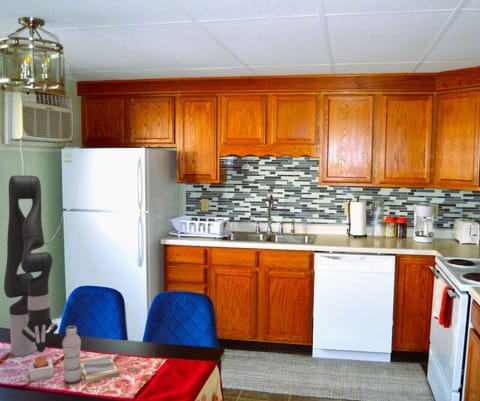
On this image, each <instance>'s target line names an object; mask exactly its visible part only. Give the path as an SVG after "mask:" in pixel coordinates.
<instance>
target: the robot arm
mask: <svg viewBox="0 0 480 401" xmlns="http://www.w3.org/2000/svg"><path fill="white" fill-rule="evenodd" d="M8 181H9V182H8V222H7V223H8V225H7V240H6V243H7V244H6V245H7V246H6V248H7V249H6V250H7V251H6V256H7V257H6V264H5V265H6V266H5V274H4V282H3V288H4V289H3V290H4V295H5V296H6V297H7V298H9V299H13V298H19V297H21V298H20V299H19V300H17V301H15V302H14V303H13V304H11V305H10V306H9V330H10V350H11V351H10V352H11V353H10V354H11V355H12V356H15V357H23V356H27V355H31V354H33V353H34V352H35V351H37V352H39V353H44V351H45V350H46V341H48V340H50V339H51V338H52V336H53V335H54V333H55V332H56V331H57V330H58V328H59V326H58V324H57V323H54V322H53V321H52V319H51V300H50V293H49V289H50V288H49V278H50V275H51V270H52V266H53V261H54V260H53V256H52V255H51V253H49V252H48V251H42V252H33V251H34V250H38V249H40V248H42V247H44V245H45V237H44V231H43V223H42V185H41V181H40V178H39V176H37V175H12V176H10V177H9V180H8ZM19 200H31V201H32V202H31V204H32V205H31V207H30V209H29V212H28V214H27V215H26V216H25V215H24V213H23V212H22V209H21V208H20V205H19ZM20 266H21V270H22V271H23V273H18V270H19V268H20ZM40 272H41V273H40ZM32 273H40V274H39V275H37V276H35V277H34V276H33V274H32ZM49 328H50V330H49ZM48 330H49V331H48ZM46 332H47V333H46Z"/></svg>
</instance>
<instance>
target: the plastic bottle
mask: <svg viewBox="0 0 480 401" xmlns="http://www.w3.org/2000/svg"><path fill="white" fill-rule="evenodd" d="M77 333H78V330H77V326H75V325H69V326H67V327H65V334H66V335H65V336H64V338H63V339H62V341H61V347H62V351H63V357H64V358H63V360H64V361H63V372H62V377H63V380H64V381H65V382H67V383H70V384H71V383H77V382H79V381H81V379H82V377H83V374H82V368H81V363H80V360H81V356H80V355H81V346H82V340H81V337H80V336H79V334H77Z"/></svg>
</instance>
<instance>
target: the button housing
mask: <svg viewBox="0 0 480 401" xmlns="http://www.w3.org/2000/svg"><path fill="white" fill-rule="evenodd" d="M46 361H47V366H46V367H41V368H35V361H30V362H28V375H29V382H30V383H31V382H36V381H37V382H38V381H41V380H47V379H51V378H54V376H55V375H54V373H55V372H54V371H55V370H54V365H53V360H52V358H46Z"/></svg>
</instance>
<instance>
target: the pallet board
mask: <svg viewBox="0 0 480 401" xmlns="http://www.w3.org/2000/svg"><path fill="white" fill-rule="evenodd" d="M80 363H81V368H82V377H83V378H84V381H85V383H86V384H87V383H89V384H90V383H92V382H93V383H94V382H97V381H102V380H106V379H107V380H108V379H112V377H113V378H117V376H118V377H120V371H119V369H118V368H117V366H116V364H115V362H114V360H113V358H112V357H111V354H104V355H98V356H93V357H86V358H82V359H81V358H80Z"/></svg>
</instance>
